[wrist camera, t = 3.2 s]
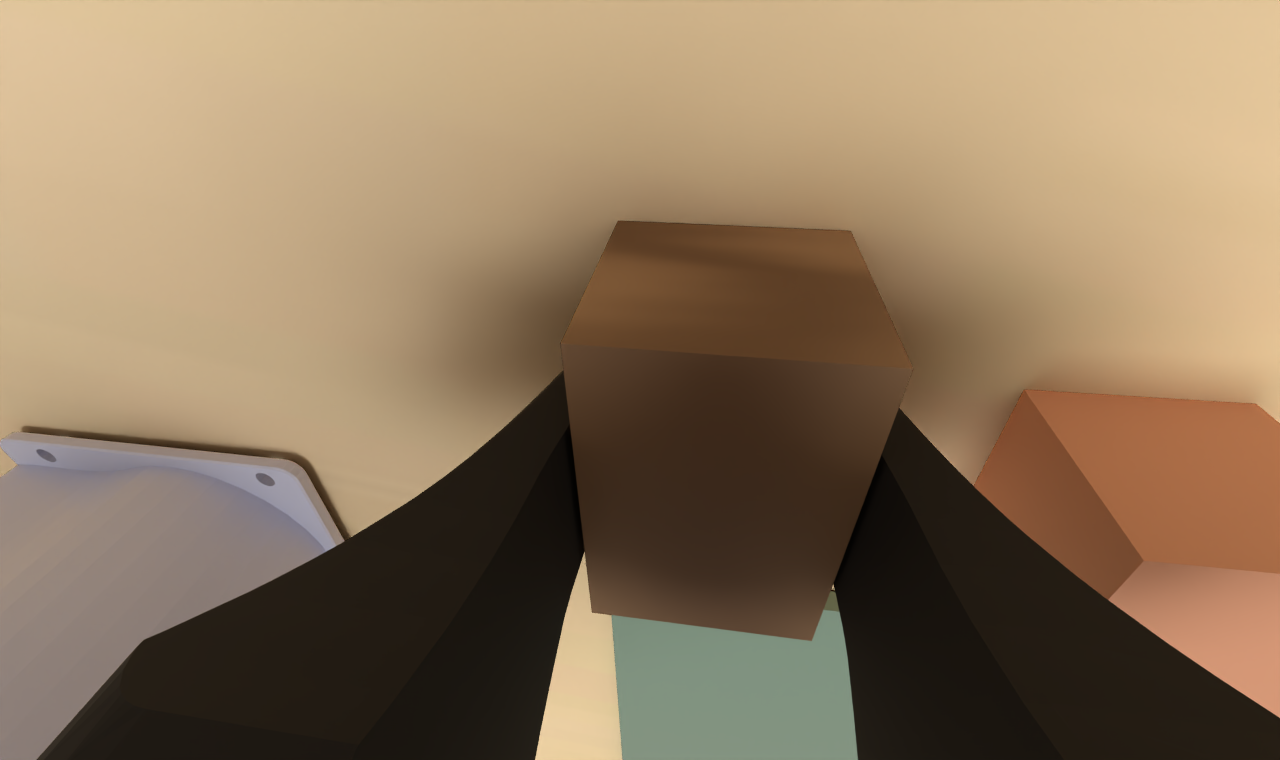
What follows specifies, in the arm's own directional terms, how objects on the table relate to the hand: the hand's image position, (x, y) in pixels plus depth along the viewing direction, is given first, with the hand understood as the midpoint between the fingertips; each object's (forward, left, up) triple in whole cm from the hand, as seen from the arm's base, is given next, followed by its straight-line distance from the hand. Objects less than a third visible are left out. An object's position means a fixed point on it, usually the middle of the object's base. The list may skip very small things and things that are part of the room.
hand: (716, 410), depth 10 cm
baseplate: (+4, -16, -1) cm, 17 cm away
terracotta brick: (+8, -3, -2) cm, 9 cm away
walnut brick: (0, 0, -1) cm, 1 cm away
